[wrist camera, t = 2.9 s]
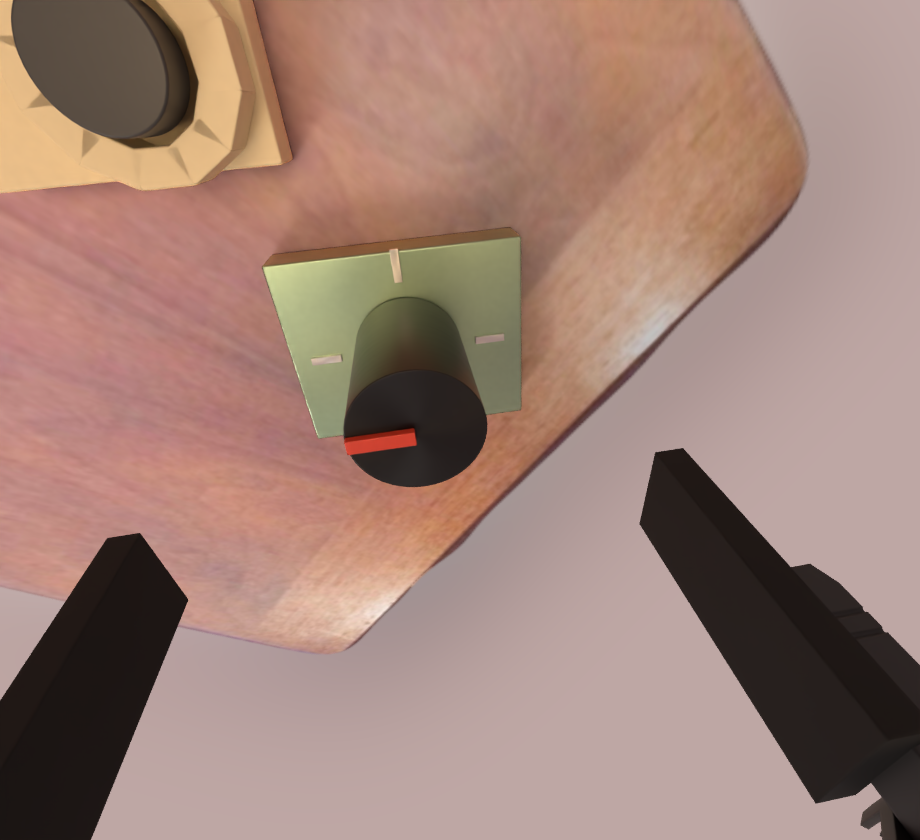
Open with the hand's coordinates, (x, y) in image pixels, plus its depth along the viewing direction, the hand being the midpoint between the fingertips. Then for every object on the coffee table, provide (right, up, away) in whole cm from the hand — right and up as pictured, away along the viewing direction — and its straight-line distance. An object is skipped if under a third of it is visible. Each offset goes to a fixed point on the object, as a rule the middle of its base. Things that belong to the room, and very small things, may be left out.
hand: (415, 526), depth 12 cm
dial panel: (-2, +7, +11) cm, 13 cm away
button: (-9, +13, +1) cm, 16 cm away
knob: (-1, +6, +9) cm, 11 cm away
